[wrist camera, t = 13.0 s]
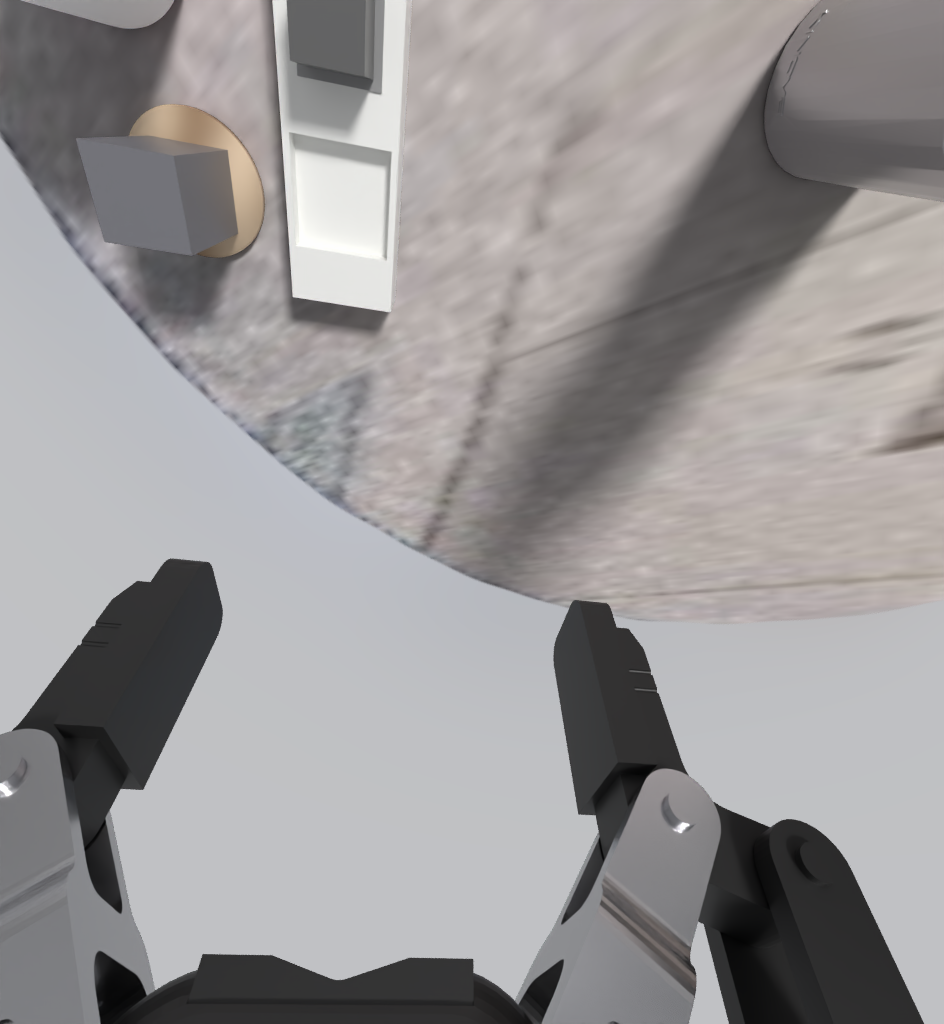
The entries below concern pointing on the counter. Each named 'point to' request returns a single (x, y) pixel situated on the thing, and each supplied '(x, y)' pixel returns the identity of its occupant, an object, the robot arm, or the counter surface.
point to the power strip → (343, 144)
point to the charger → (160, 192)
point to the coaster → (244, 174)
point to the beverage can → (112, 10)
